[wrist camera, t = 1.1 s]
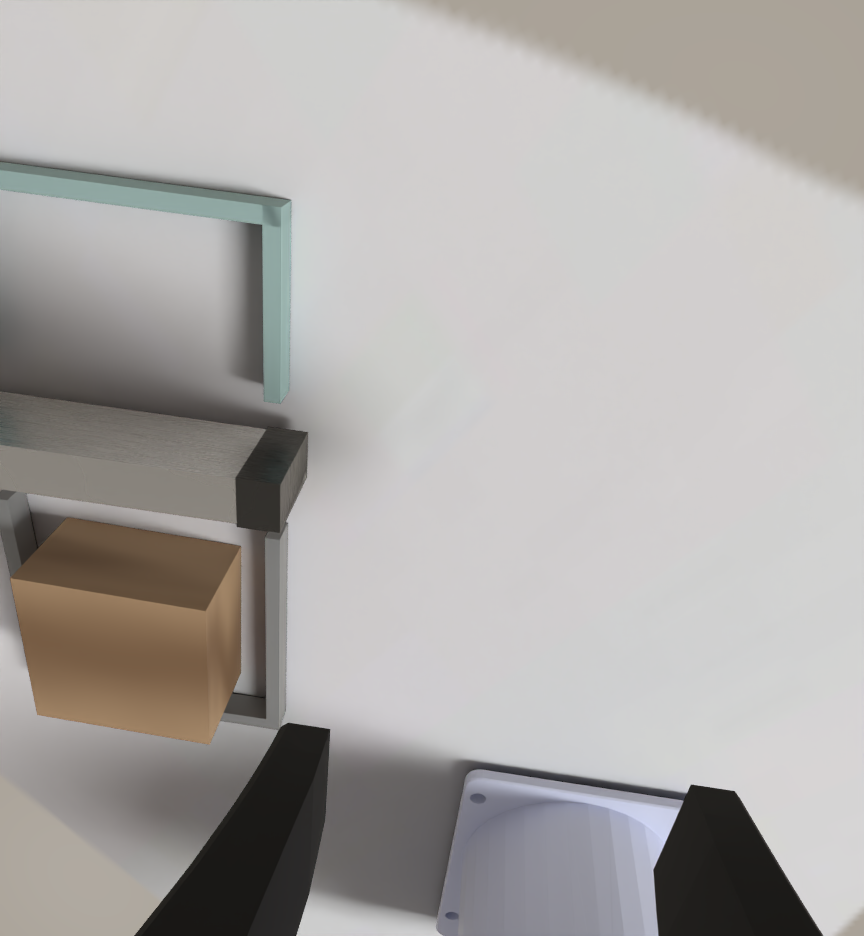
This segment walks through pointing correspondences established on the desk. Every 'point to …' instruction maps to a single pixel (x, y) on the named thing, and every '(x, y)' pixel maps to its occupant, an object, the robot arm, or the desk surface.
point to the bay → (195, 203)
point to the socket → (19, 543)
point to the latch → (151, 461)
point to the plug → (131, 628)
